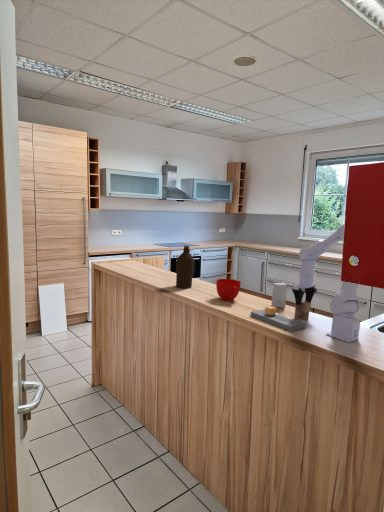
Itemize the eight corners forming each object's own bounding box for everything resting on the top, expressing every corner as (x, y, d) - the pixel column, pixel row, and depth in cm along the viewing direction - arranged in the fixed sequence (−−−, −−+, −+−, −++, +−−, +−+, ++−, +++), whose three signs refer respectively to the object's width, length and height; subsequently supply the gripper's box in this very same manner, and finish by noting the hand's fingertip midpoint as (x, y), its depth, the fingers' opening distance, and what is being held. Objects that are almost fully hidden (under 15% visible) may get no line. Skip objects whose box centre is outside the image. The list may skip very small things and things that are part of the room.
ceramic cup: (222, 304, 165) (224, 285, 164) (211, 296, 181) (213, 278, 180) (246, 304, 169) (248, 285, 167) (233, 296, 185) (235, 278, 184)
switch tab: (275, 314, 147) (276, 307, 146) (270, 315, 144) (270, 308, 144) (270, 312, 149) (271, 306, 149) (264, 313, 147) (265, 307, 146)
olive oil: (190, 289, 194) (193, 247, 191) (173, 287, 196) (175, 245, 193) (193, 286, 204) (196, 245, 201) (177, 284, 206) (179, 244, 203)
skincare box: (282, 305, 172) (284, 283, 170) (285, 308, 167) (287, 284, 166) (270, 305, 171) (273, 282, 169) (273, 307, 166) (276, 284, 165)
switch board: (305, 327, 138) (306, 323, 138) (291, 331, 132) (291, 326, 132) (265, 313, 155) (265, 309, 155) (250, 316, 149) (250, 311, 149)
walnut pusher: (308, 319, 150) (310, 302, 149) (303, 320, 148) (305, 303, 147) (298, 316, 154) (300, 299, 153) (294, 317, 152) (296, 300, 151)
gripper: (307, 272, 156) (304, 300, 158) (289, 273, 147) (286, 303, 149) (321, 275, 151) (318, 303, 152) (302, 276, 142) (299, 307, 144)
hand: (303, 303), depth 150 cm, fingers open, 7 cm apart
